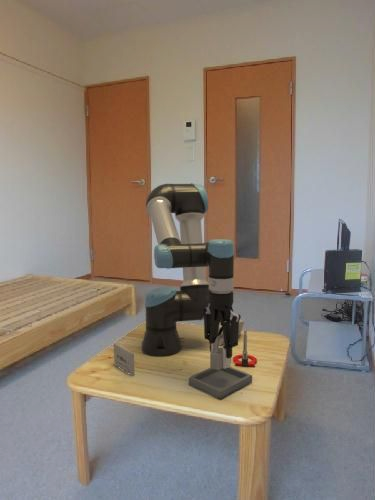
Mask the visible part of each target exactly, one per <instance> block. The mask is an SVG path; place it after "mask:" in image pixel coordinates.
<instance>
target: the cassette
mask: <svg viewBox="0 0 375 500" xmlns="http://www.w3.org/2000/svg"><path fill="white" fill-rule="evenodd" d="M113 356H114V357H113V359H114V363H115V364H116V365H115V364H114V365H115V367H116V366H118V367H120V368H121V369H123V370H124V371H125V372H124V371H123V372H124V373H126V372H127V373H130V374H131V375H130V374H129V375H130V376H132V375H133V376H135V353H134V352H133V351H131V350H130V349H128V348H126V347H123V346H122V345H120V344H119V343H118V342H115V343H113ZM118 367H117V368H118ZM121 369H120V370H121ZM127 373H126V374H127Z"/></svg>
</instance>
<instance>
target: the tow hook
mask: <svg viewBox="0 0 375 500" xmlns="http://www.w3.org/2000/svg"><path fill="white" fill-rule="evenodd" d="M243 332H244V333H243V346H242V349H243V350H242V354H238V355H233V356H232V361H233V362H234V366H238V367H247V368H248V367H250V368H251V367H255V366H256V365H255V364H257V362H258V358H257V357H256V356H253V355H251V354H248V335H247V332H248V331H247V329H244V330H243ZM240 359H241V360H240ZM249 359H250V361H249Z"/></svg>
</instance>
